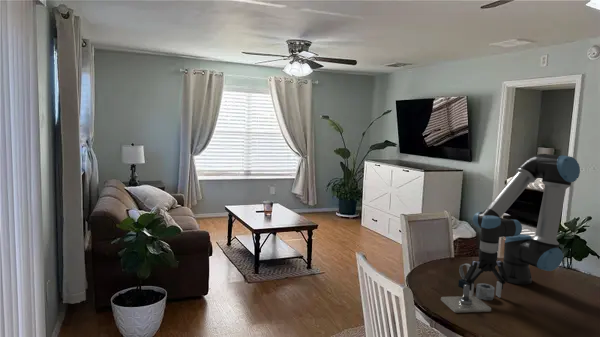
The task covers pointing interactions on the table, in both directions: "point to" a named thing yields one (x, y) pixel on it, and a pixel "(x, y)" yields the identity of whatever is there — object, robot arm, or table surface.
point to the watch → (461, 281)
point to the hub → (485, 291)
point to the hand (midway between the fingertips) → (484, 296)
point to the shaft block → (465, 302)
